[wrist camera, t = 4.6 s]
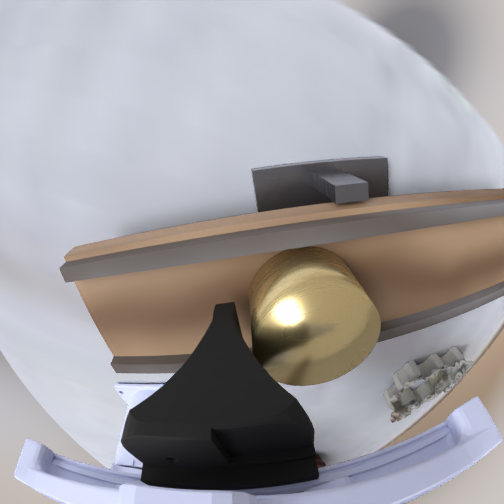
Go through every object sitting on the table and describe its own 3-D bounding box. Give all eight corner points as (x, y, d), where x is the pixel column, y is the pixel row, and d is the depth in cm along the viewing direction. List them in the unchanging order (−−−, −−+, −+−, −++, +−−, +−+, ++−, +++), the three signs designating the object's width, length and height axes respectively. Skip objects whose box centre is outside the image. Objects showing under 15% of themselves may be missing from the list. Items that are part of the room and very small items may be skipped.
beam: (491, 285, 15) (505, 297, 13) (126, 355, 16) (118, 375, 14) (510, 188, 12) (528, 196, 10) (74, 246, 12) (57, 263, 11)
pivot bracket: (375, 303, 19) (400, 341, 15) (273, 324, 19) (282, 370, 15) (381, 156, 14) (423, 168, 10) (251, 168, 15) (257, 183, 11)
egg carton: (376, 399, 26) (387, 425, 23) (398, 358, 23) (415, 387, 19) (439, 380, 27) (451, 401, 23) (463, 340, 24) (480, 362, 20)
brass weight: (352, 319, 14) (376, 366, 10) (261, 342, 14) (267, 395, 11) (348, 234, 11) (383, 273, 8) (236, 260, 12) (236, 310, 9)
